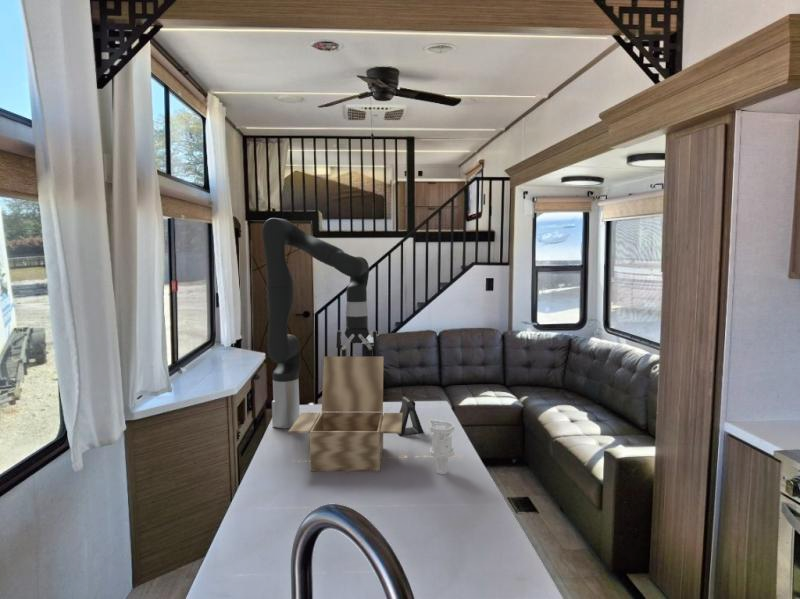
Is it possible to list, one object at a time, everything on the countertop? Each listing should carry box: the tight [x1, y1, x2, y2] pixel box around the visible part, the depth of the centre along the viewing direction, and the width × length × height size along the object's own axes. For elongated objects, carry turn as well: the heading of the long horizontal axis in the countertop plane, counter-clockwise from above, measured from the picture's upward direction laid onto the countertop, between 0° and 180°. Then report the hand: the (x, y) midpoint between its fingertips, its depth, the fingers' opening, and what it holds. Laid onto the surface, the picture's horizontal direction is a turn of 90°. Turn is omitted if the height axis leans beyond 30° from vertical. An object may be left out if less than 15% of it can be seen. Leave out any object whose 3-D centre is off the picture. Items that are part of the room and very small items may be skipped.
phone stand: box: [396, 395, 424, 437], centre depth 180 cm, size 9×6×12 cm, turn 108°
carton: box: [288, 411, 403, 473], centre depth 156 cm, size 33×18×12 cm, turn 88°
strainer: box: [429, 418, 455, 475], centre depth 147 cm, size 7×7×15 cm
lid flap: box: [321, 355, 385, 413], centre depth 171 cm, size 20×18×7 cm
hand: (357, 360), depth 179 cm, fingers open, 8 cm apart
